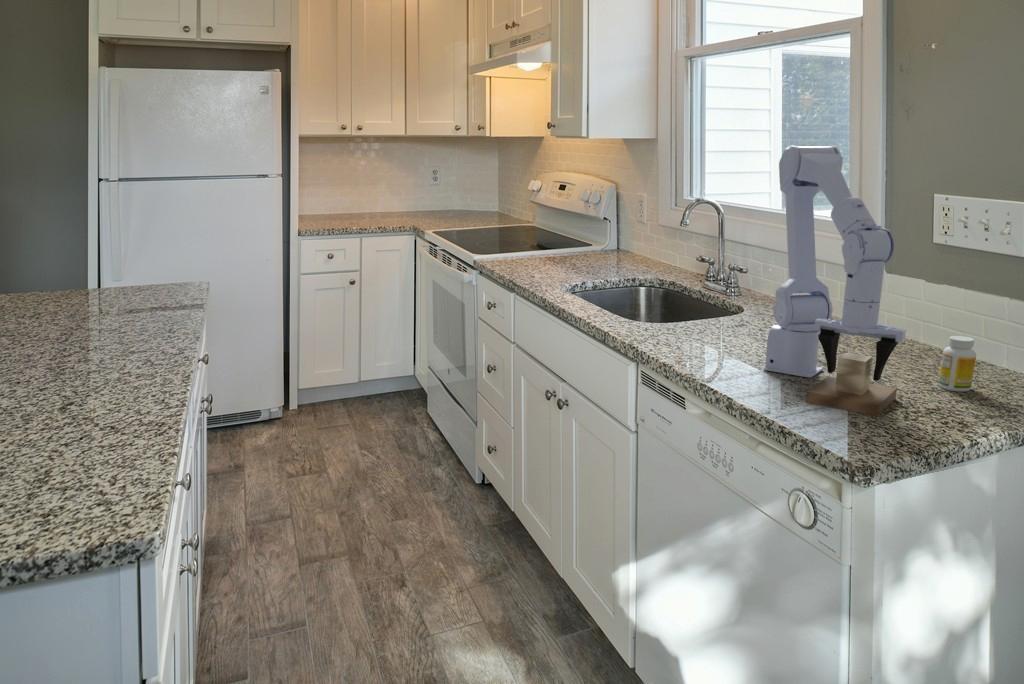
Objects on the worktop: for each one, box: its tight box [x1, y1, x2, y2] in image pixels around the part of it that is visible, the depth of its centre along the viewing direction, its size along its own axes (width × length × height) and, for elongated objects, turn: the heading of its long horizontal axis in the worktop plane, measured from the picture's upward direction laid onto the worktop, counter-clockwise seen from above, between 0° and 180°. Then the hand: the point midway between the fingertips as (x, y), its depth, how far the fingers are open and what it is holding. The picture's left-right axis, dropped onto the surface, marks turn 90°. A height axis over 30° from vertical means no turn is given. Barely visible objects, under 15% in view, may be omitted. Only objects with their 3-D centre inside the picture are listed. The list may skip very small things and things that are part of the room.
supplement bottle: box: [938, 335, 977, 393], centre depth 145 cm, size 5×5×10 cm
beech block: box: [835, 352, 874, 395], centre depth 137 cm, size 4×4×6 cm
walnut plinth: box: [805, 376, 898, 417], centre depth 138 cm, size 12×12×2 cm
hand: (853, 375), depth 137 cm, fingers open, 7 cm apart
